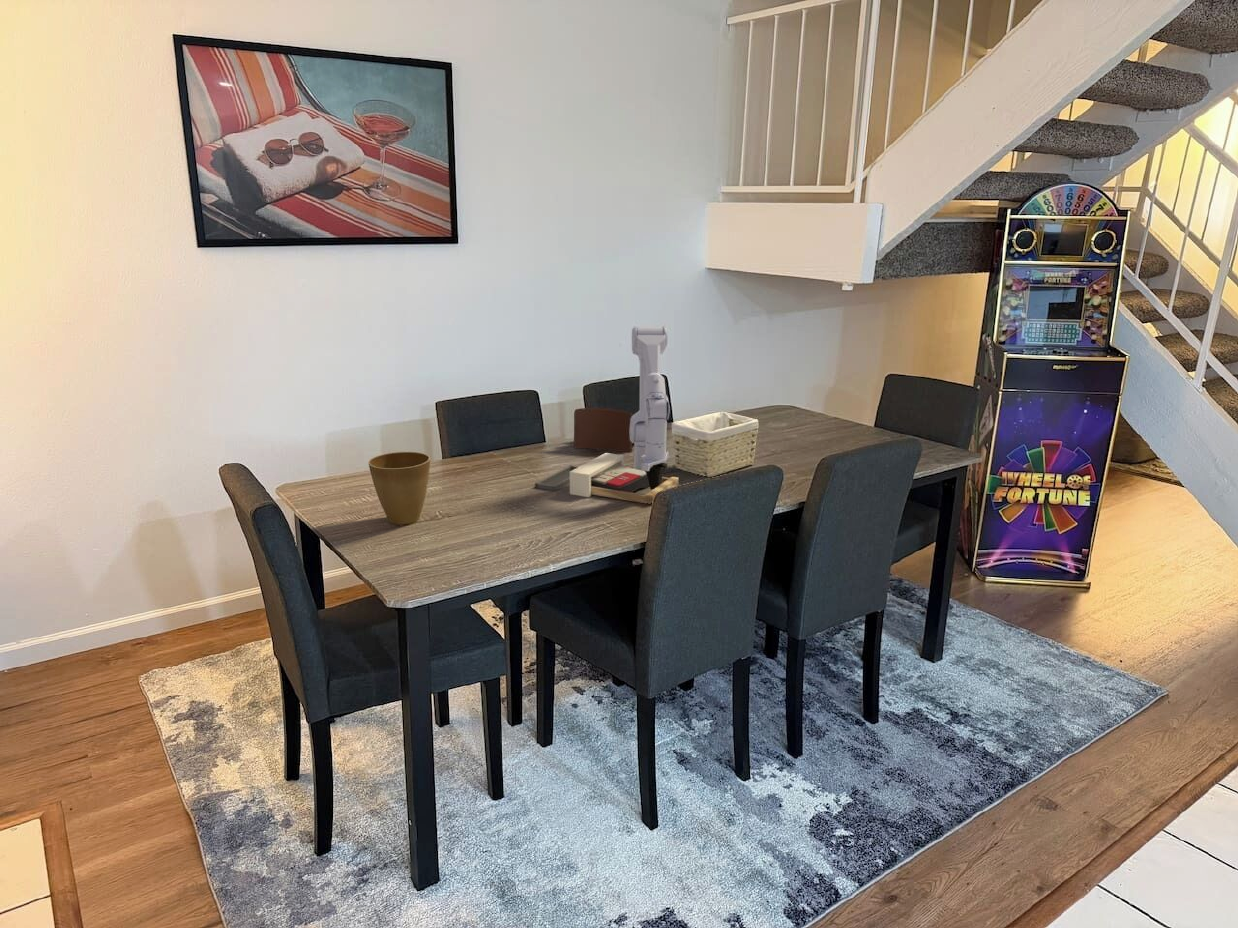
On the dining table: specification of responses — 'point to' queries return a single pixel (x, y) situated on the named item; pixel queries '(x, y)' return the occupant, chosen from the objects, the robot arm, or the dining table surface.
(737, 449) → the storage basket
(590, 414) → the letter holder
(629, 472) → the calculator
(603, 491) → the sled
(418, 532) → the dining table surface
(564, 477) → the tunnel
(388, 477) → the plant pot
